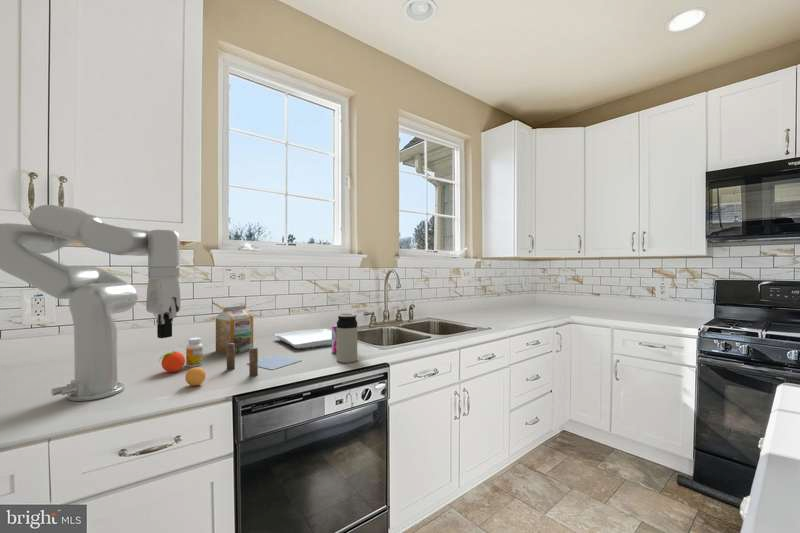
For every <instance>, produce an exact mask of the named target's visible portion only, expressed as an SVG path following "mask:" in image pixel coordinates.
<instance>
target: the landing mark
mask: <svg viewBox="0 0 800 533" xmlns="http://www.w3.org/2000/svg"><path fill="white" fill-rule="evenodd" d="M302 361H303V360H301V359H297V358H292V357H287V356H282V355H278V354H277V355H272V356H269V357H266V358H262V359H258V368H261V369H265V368H266V370H271V371H274V370H277V369H280V367H281V368H283V367H287V366H290V365H293V363H294V364H297V363H300V362H302ZM296 362H297V363H296ZM246 365H249V362H247V363H246Z"/></svg>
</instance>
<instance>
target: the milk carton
mask: <svg viewBox="0 0 800 533" xmlns="http://www.w3.org/2000/svg"><path fill="white" fill-rule="evenodd" d="M228 343H235V355H236V354H242V353H246V352H249V349H250V348H254V316H253V314H252V313H251V312H250V310H248V309H247V305H245V304H243V305H234V306H233V305H232V306H223V307H222V311H221V312H220V313H219V314H217V315H216V317H215V352H216V351H217V352H216V353H220V352H221V353H220V354H224V353H225V354H224V355H227V344H228ZM241 352H242V353H241Z"/></svg>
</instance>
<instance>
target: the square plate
mask: <svg viewBox="0 0 800 533" xmlns="http://www.w3.org/2000/svg"><path fill="white" fill-rule="evenodd" d="M274 336H276V338H277V339H279V340H280V341H282V342H285V343H286V344H288V345H290V346H292V347H293V348H294V349H295V348H296V349H301V348H303V349H311V348H310V347H312V348H319V347H325V346H332V329H328V328H315V329H302V330H296V331H288V332H287V331H286V332H280V333H275V334H274ZM318 346H319V347H318Z"/></svg>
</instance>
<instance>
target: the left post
mask: <svg viewBox="0 0 800 533" xmlns="http://www.w3.org/2000/svg"><path fill="white" fill-rule="evenodd" d="M235 357H236V354H235V343H228V344H227V354H226V370H227V371H234V370H235V368H236V366H235V364H236V358H235Z"/></svg>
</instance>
